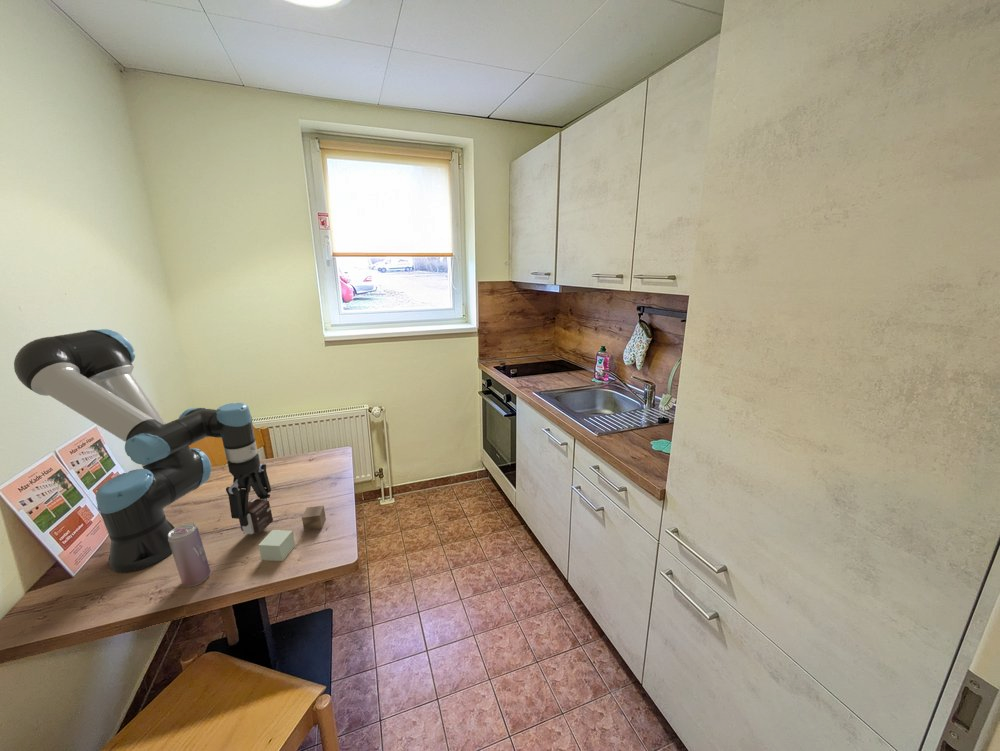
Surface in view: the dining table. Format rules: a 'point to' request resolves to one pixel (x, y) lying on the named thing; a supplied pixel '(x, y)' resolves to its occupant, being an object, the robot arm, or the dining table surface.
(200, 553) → the beverage can
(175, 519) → the dining table surface
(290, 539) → the base block
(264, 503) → the box
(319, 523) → the walnut cube
